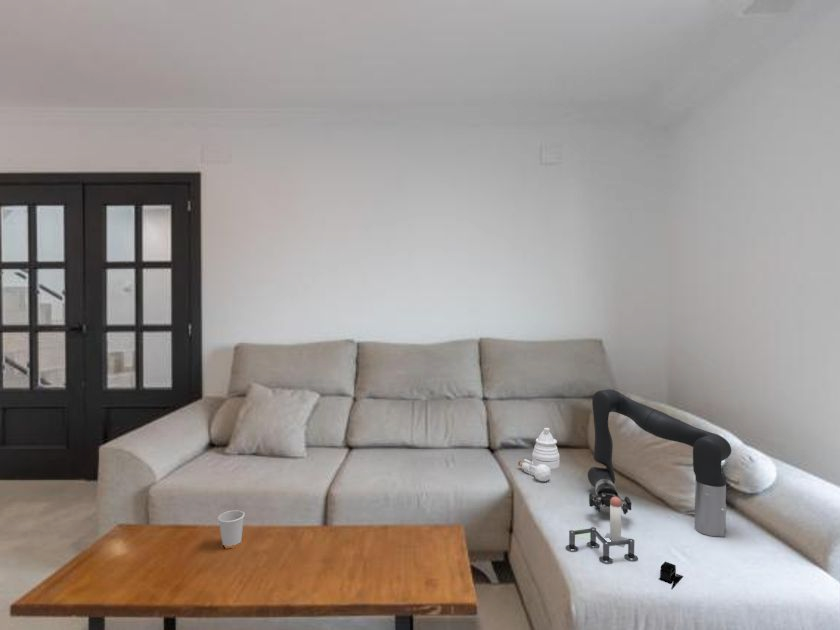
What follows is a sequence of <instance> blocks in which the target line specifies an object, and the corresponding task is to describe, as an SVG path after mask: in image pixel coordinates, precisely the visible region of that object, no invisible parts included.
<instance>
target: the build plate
mask: <svg viewBox="0 0 840 630" xmlns="http://www.w3.org/2000/svg"><path fill="white" fill-rule="evenodd" d="M683 578H684V575H682V574H679V573H677V565H675V564H674V563H670V562H668V561H664V562H662V564H661V565H660V569H659V578H658V580H659V581H661V582H664V583H666V584H669V585H671V588H670V590H673V589H674V588H675V587H676V586H677V585H678V584H679V582H680V581H681V580H682V579H683Z"/></svg>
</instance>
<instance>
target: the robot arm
mask: <svg viewBox="0 0 840 630" xmlns="http://www.w3.org/2000/svg"><path fill="white" fill-rule="evenodd" d="M591 401H592V402H591V403H592V414H593V424H594V426H593V427H594V445H593V446H594V449H593V450H594V451H593V459H594V461H595V462H596V463H599V464H602V465H604V466H605V467H597V466H593V467H590V468H589V470H588V471H587V478H588V482H589V484H590V485H591V486H593V488H594V489H595V495H596V496H595V495H594V494H593V493H588V505H589V507H594V508H595V510H596V511H597V512H598V513H600V512H601V508H603V507H609V508H610V499H611V498H612V497H618V498H620V500H621V502H622V504H621V511H622V513H623V514H624V515H627V513H629V511H632V501H631V499H630V497H628V496H624V498H621V497H620V496H619V493H618V491H617V489H616V488H617V487H616V485H615V482H616V475H615V471H614V468H613V467H614V466H613V446H614V444H613V439H612V434H611V432H610V428H609V415H610V413H617V414H620V415H622V416H624V417H627V418H629V419H630V420H632V421H633V422H634V423H635V425H637V426H638V428H640V429H642V431H644V432H647V433H648V434H651V435H653V436H654V437H658V438H660V439H663V440H667V441H670V442H677V443H681V444H684V445H688V446H690V447H692V469H693V473H694V477H695V483H694V484H695V486H694V491H695V492H694V529H695V530H696V531H697V532H698V533H700V534H703V535H706V536H710V537H720V538H721V537H722V538H724V537H725V534H726V529H727V528H726V527H727V524H726V522H727V504H726V503H727V502H726V501H727V476H726V475H725V474H724V473H723V471H722V462H723V461H725V460H726V459H728V458H729V457H730V456H731V454H732V447H731V444H730V443H729V442H728V440H727V439H726V438H724V437H723V436H721V435H719V434H716V433H714V432H710V431H707V430H705V429H703V428H702V429H701V428H698V427H695V426H693V425H691V424H689V423H687V422H684V421H682V420H680V419H678V418H675V417H673V416H672V415H669V414H667V413H665V412H662V411H660V410H659V409H656V408H653V407H650V406H648V405H646V404H643V403H640V402H639V401H638V402H637V401H636V400H633V399H632V398H629V397H627V396H626V395H624V394H622V393H621V392H619V391H618V390H615V389H610V388H609V389H608V388H607V389H601V390H598V391H595V392H594V394H593V396H592V399H591Z"/></svg>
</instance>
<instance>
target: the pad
mask: <svg viewBox="0 0 840 630" xmlns="http://www.w3.org/2000/svg"><path fill="white" fill-rule="evenodd" d="M583 529H589V528H588V527H584V526H581V525H576V526H575V527H574V528H573V529H572V530H573V531H576V530H583ZM596 531H597V532H598V533H599V534H600V531H599V530H596ZM575 538H581V539H583V540H587V541H590V533H584V534H577V535H575Z"/></svg>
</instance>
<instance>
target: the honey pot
mask: <svg viewBox="0 0 840 630" xmlns="http://www.w3.org/2000/svg"><path fill="white" fill-rule="evenodd" d="M557 443H558V439H556V438H554V437H553V435H552V433H551V432H550V428H549V427H544V428H543V431H541V433H540V434H539V436H538V437H537V438H536V439H535V445H534V446H533V447H534V448H533V451H532V455H531V456H532V457H531V462H533V464H532V465H534V466H538V465H539V464H544V465H546V466H547V467H549V469H550V470H554V469H557V468H560V459H561V457H560V453H559V450H558V446H557Z"/></svg>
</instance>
